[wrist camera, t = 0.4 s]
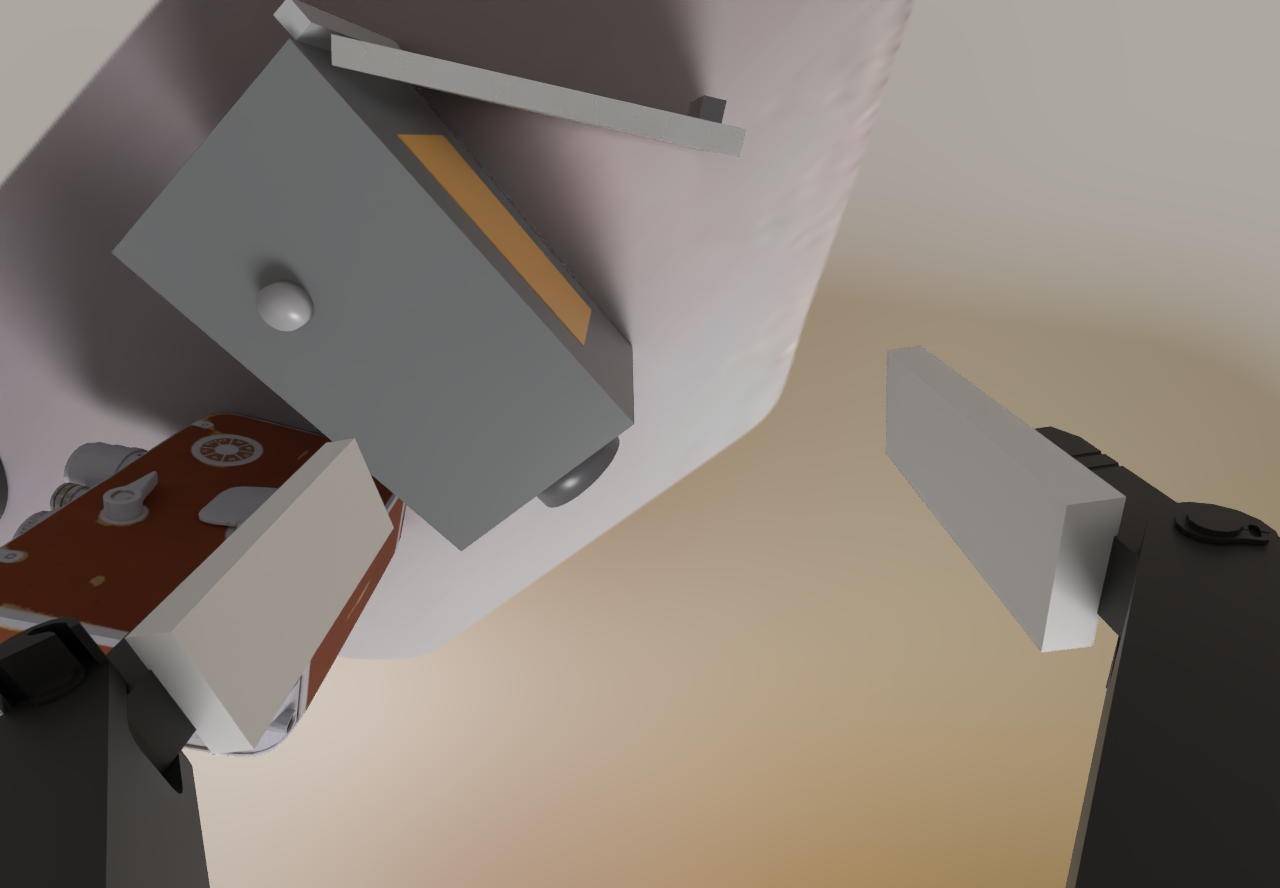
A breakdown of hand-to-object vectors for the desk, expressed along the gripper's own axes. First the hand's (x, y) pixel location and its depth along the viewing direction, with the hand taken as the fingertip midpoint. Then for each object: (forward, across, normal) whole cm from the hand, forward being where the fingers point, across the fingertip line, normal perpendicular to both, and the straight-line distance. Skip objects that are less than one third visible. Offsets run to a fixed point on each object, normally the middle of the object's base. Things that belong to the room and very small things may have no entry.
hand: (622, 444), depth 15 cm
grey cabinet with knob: (+25, -11, 0) cm, 27 cm away
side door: (+25, -2, +9) cm, 26 cm away
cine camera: (+25, -28, -9) cm, 38 cm away
